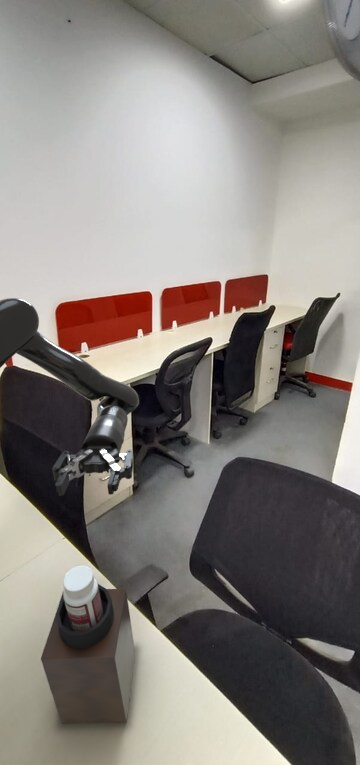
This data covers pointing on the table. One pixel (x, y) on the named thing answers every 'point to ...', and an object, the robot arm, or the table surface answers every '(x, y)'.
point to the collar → (90, 635)
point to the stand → (93, 671)
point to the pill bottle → (82, 598)
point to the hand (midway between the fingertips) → (85, 491)
